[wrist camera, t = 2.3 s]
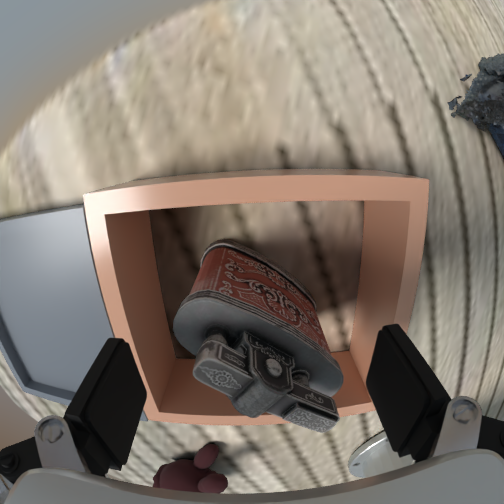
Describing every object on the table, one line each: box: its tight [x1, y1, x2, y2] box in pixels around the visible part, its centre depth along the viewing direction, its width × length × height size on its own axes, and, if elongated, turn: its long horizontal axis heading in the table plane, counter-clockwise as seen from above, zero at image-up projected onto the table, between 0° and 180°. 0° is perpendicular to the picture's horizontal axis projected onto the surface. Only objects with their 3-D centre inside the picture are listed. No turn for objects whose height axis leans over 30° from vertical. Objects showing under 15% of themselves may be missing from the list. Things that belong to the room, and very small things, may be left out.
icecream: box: [153, 444, 228, 494], centre depth 23 cm, size 7×7×15 cm
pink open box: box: [83, 169, 429, 425], centre depth 15 cm, size 15×14×6 cm
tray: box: [0, 204, 148, 421], centre depth 18 cm, size 16×18×2 cm
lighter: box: [173, 239, 344, 433], centre depth 13 cm, size 8×3×10 cm, turn 55°
